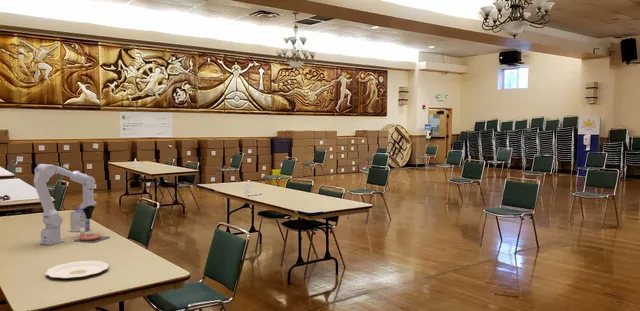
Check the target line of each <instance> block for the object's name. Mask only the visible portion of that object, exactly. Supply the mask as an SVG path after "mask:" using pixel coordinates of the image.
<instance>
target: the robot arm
mask: <svg viewBox="0 0 640 311" xmlns="http://www.w3.org/2000/svg"><path fill="white" fill-rule="evenodd" d="M58 174H59V175H62V176H65V177H67V178H68V177H69V179H70V180H71V181H72V182H75V183H78V184H81V185H82V203H81V204H80V205H79V207H80V209H79V210H82V209H83V211H84V213H85V215H86V219H90V220H91V219H92V216H93V213H94V210H95V208H96V207H95V206H96V205H97V203H98V202H97V201H95V200H94V198H95V196H94V187H95V186H94V185H95V184H96V180H95V178H94V176H92V175H88V174H87V173H82V172H81V171H80V170H73V171H71V170H69V169H66V168H63V167H61V166H58V165H54V164H47V163H40V164H37V166H36V167H35V168H34V176H33V184H34V187H35V190H36V193H37V196H38V198H39V201H40V204H41V206H42V210H43V212H42V217H43V218H42V222H43V224H44V225H45V227H44V228H43V229H41V231H40V243H39V244H40V245H45V246H46V245H48V246H52V245H56V244H59V243H63V242H65V241H66V240H64V239H61V238H62V235H61V234H62V233H61V225H62V224H63V217H62V216H61V215H60V213H59V212H58V211H57V209H56V208H55V206H54V203H53V199H52V197H51V194H50V191H49V188H48V186H47V182H48V180H49V179H50V178H52V176H54V175H58Z"/></svg>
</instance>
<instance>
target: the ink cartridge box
mask: <svg viewBox="0 0 640 311" xmlns="http://www.w3.org/2000/svg"><path fill="white" fill-rule="evenodd" d="M90 221H91V219H86V215H85V213H84V211H83V209H80V206H78V207H77V210H73V211H70V212H69V222H70V223H69V226H70V229H69V230H70V232H76V233H77V232H78V233H80V228H84V231H85V233H86V232H89V231H90V230H91V227H90V226H91V225H90V224H91V222H90ZM88 230H89V231H88Z"/></svg>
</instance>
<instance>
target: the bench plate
mask: <svg viewBox="0 0 640 311" xmlns="http://www.w3.org/2000/svg"><path fill="white" fill-rule="evenodd" d="M110 238H111V237H110V236H107V235H101V238H98V239H94V240H80V239H79V238H76V239H74V240H73V241H74V242H78V243H88V244H95V243H98V242H100V241H102V242H103V241H105V240H107V239H110Z"/></svg>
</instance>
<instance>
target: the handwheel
mask: <svg viewBox="0 0 640 311" xmlns="http://www.w3.org/2000/svg"><path fill="white" fill-rule="evenodd" d="M85 233H86V232H85V231H84V228H80V232H79V236H78V239H80V240H94V239H98V238H101V236H102V234H100V233H87V234H85Z"/></svg>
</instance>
